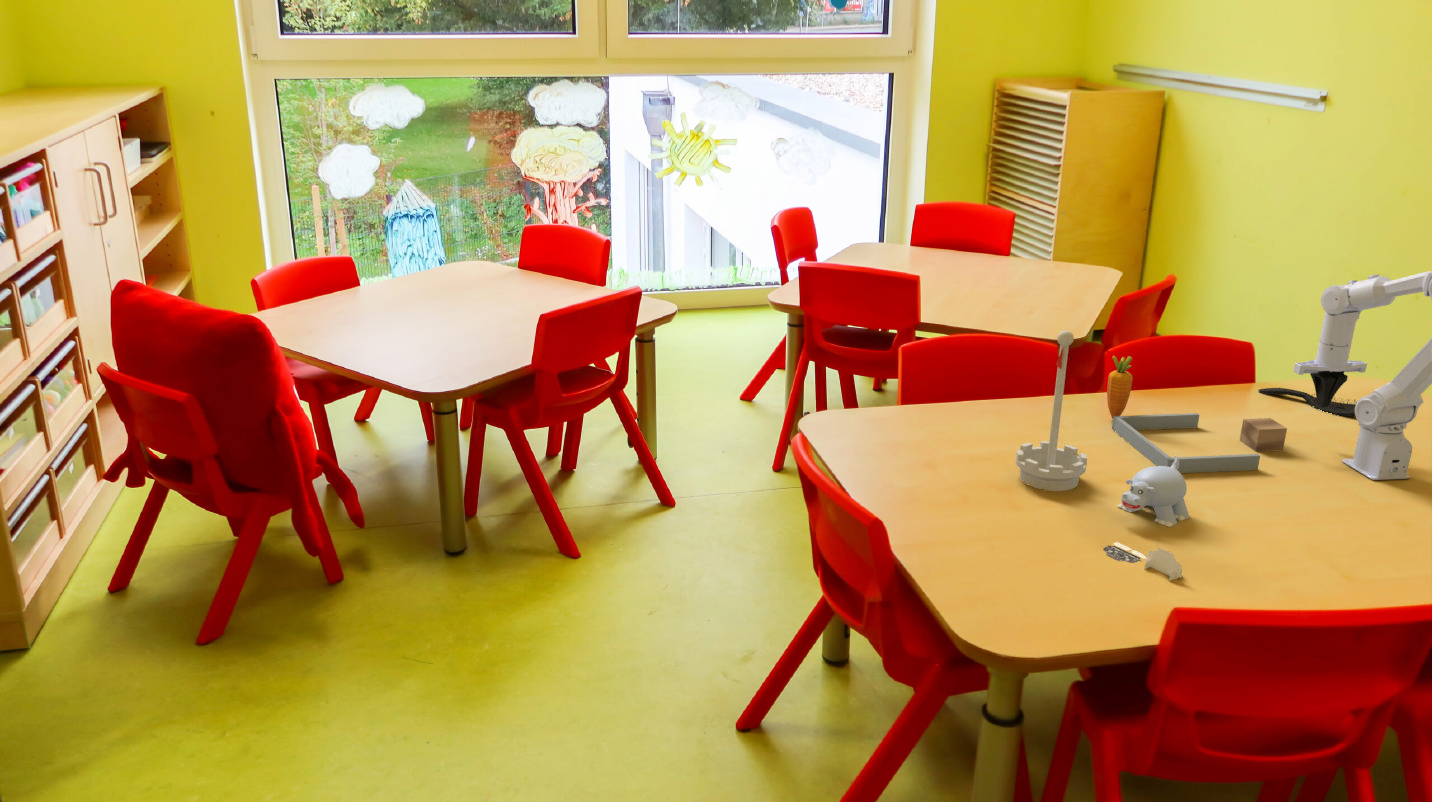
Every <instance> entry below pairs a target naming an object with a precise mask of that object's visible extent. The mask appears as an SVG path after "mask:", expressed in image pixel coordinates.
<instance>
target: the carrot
mask: <svg viewBox="0 0 1432 802" xmlns="http://www.w3.org/2000/svg"><path fill="white" fill-rule="evenodd" d="M1111 358H1112V360H1113V361H1114V364H1115V367H1116V370H1113V371H1111V372H1110V373H1109V375H1108V377H1107V378H1108V379H1107V389H1106V390H1107V391H1106V396H1107V397H1106V399H1107V407H1108V410H1109V411H1108V412H1109V415H1110V416H1111V419H1112V420H1113V417H1114V416H1122V414H1123V413H1124V411H1125V409H1126V407H1127V403H1128V401H1129V398H1130V395H1131V390H1132V385H1133V380H1134V379H1133V375H1132V373H1131V372H1129V371H1127V370H1129V369H1131V367H1132V365H1130V363H1131V362H1132V360H1133V357H1132V356H1127V358H1126V357H1124V356H1122V357H1121V359H1120V361H1119V360H1118V359H1117V357H1116V356H1115V355H1113V356H1112V357H1111Z"/></svg>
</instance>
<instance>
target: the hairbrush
mask: <svg viewBox="0 0 1432 802" xmlns="http://www.w3.org/2000/svg"><path fill="white" fill-rule="evenodd" d="M1258 393H1260V394H1261V395H1280V396H1281V395H1285V396H1291V397H1296V398H1301V399H1303V400H1304V401H1306V402H1307V404H1308V405H1309V406H1311V407H1312V406H1314V408H1313V409H1315V408H1316V409H1317V408H1318V409H1320V410H1322V411H1321V412H1323V411H1324V413H1326V412H1328V413H1327V414H1329V413H1332V414H1331V415H1334V414H1336V415H1335V416H1337V415H1339V416H1338V417H1341V416H1344V417H1346V418H1347V417H1348V418H1350V417H1356V416H1355V406H1356V403H1357V402H1358V400H1356V399H1353V401H1352V399H1351V398H1350V400H1349V399H1348V398H1347V399H1344V400H1343V398H1340V397H1339V398H1337V399H1336V397H1335V396H1334V397H1333V399H1332V401H1331V403H1330V404H1329V406H1328V407H1321V406H1319V405H1317V401H1316V394H1314V393H1313V394H1309V393H1308V392H1305V391H1301V390H1300V391H1299V390H1296V389H1292V388H1283V387H1268V388H1267V387H1266V388H1260V389H1258ZM1340 399H1341V400H1340ZM1339 400H1340V402H1339ZM1345 401H1346V402H1345ZM1318 409H1317V410H1318ZM1320 410H1319V411H1320Z"/></svg>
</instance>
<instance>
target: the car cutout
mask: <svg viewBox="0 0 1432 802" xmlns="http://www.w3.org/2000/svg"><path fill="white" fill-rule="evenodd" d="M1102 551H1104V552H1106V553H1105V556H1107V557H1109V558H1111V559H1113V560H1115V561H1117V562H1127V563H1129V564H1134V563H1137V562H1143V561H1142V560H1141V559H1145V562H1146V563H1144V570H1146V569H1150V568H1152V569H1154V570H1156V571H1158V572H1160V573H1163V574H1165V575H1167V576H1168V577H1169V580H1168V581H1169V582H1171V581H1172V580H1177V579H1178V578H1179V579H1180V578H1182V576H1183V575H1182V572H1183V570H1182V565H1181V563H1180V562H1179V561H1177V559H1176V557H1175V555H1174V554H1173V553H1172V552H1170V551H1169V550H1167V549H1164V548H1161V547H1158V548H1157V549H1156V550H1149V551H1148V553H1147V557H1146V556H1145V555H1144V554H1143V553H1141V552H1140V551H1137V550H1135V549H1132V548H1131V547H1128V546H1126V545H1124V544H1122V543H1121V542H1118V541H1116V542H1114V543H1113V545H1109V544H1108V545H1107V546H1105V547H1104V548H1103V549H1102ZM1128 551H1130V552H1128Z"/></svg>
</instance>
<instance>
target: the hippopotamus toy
mask: <svg viewBox="0 0 1432 802" xmlns="http://www.w3.org/2000/svg"><path fill="white" fill-rule="evenodd" d="M1173 457H1176V460H1175V461H1174V463H1173V464H1172V466H1171V467H1167V466H1156V465H1155V466H1149V467H1145V468H1143V469H1141V470H1139V471H1138V472H1137V473H1135V474H1134V476H1133V477H1132V479H1130V478H1128V479H1126V481H1125V484H1127V485H1129V484H1130V486H1129V490H1127V491H1125V492H1123V493H1122V494H1121V501H1120V504H1117V508H1119V509H1122V510H1123V511H1125V512H1130V513H1135V512H1137V511H1140V510H1142V509H1144V508H1145V507H1147V506H1148V507H1152V508H1153V509H1154V513H1155V516H1156V518H1155V519H1154V522H1155V523H1158V524H1159V525H1160V526H1166V527H1169V528H1171V527H1173V526H1176V525H1177V523H1178V521H1180V522H1182V521H1183V520H1188V519H1189V518H1190V514H1189V511H1188V507H1187V504H1186V502H1185V497H1186V494H1187V482H1186V480H1185V478H1184V476H1183V475H1182V473H1180V472H1179V471H1177V470H1178V468H1179V458H1178V457H1179V456H1178V455H1173Z"/></svg>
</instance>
